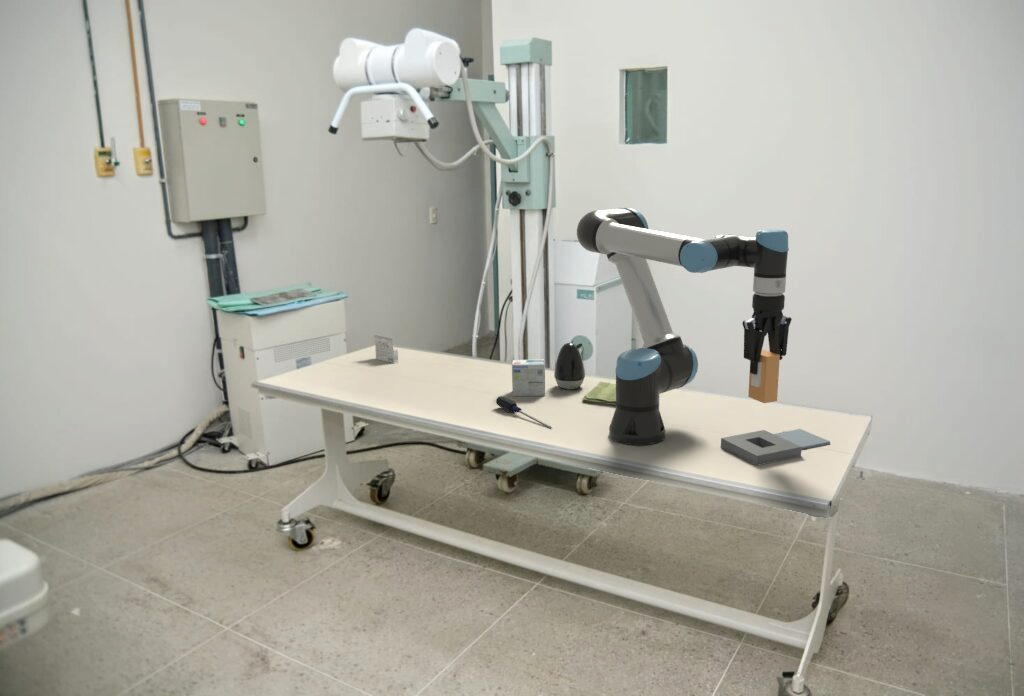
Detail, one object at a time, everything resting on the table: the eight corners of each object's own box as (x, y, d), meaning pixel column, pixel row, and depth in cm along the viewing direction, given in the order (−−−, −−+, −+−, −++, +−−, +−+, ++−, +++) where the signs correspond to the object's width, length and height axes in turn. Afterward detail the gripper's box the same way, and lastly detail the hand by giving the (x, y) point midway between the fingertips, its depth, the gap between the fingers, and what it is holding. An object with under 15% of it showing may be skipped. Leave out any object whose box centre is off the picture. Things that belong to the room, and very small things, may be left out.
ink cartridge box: (380, 358, 308) (378, 333, 305) (398, 362, 300) (397, 337, 298) (375, 359, 306) (373, 334, 304) (393, 363, 299) (392, 338, 296)
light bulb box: (545, 390, 261) (544, 358, 258) (545, 396, 254) (544, 363, 251) (512, 390, 261) (512, 359, 258) (512, 396, 254) (511, 364, 252)
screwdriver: (556, 428, 225) (556, 415, 224) (546, 430, 222) (546, 417, 222) (503, 406, 245) (503, 394, 244) (494, 408, 243) (493, 396, 242)
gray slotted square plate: (756, 465, 194) (756, 455, 194) (720, 447, 207) (721, 438, 206) (800, 456, 199) (801, 446, 199) (763, 438, 212) (763, 429, 211)
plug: (764, 403, 196) (766, 356, 194) (748, 396, 202) (750, 351, 199) (776, 401, 198) (779, 354, 195) (760, 394, 203) (763, 349, 200)
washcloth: (580, 404, 246) (580, 394, 246) (598, 389, 262) (598, 379, 261) (621, 409, 241) (621, 399, 240) (636, 393, 256) (637, 383, 256)
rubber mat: (797, 450, 203) (797, 448, 203) (768, 437, 213) (768, 434, 213) (830, 443, 208) (830, 441, 207) (800, 430, 217) (800, 428, 217)
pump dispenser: (591, 387, 262) (591, 343, 258) (567, 393, 256) (567, 348, 253) (572, 381, 270) (572, 337, 266) (548, 386, 264) (547, 342, 261)
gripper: (750, 298, 187) (745, 393, 192) (807, 292, 193) (800, 384, 199) (730, 294, 194) (726, 385, 199) (785, 288, 200) (779, 377, 206)
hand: (763, 384), depth 199 cm, fingers closed on plug, 4 cm apart
